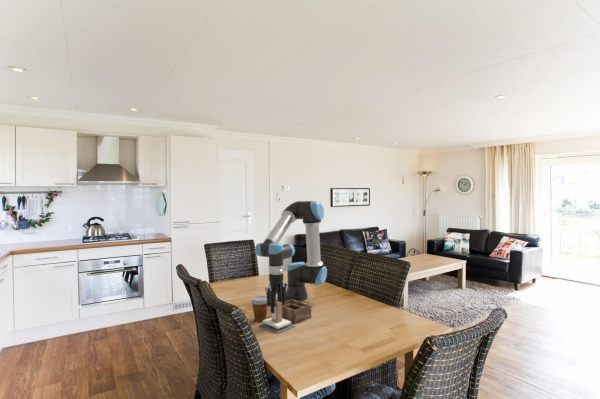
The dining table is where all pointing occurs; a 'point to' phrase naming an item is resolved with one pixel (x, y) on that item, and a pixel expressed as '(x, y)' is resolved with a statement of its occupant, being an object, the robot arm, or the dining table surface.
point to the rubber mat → (276, 328)
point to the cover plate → (278, 325)
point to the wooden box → (296, 311)
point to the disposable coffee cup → (260, 308)
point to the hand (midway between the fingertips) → (276, 317)
